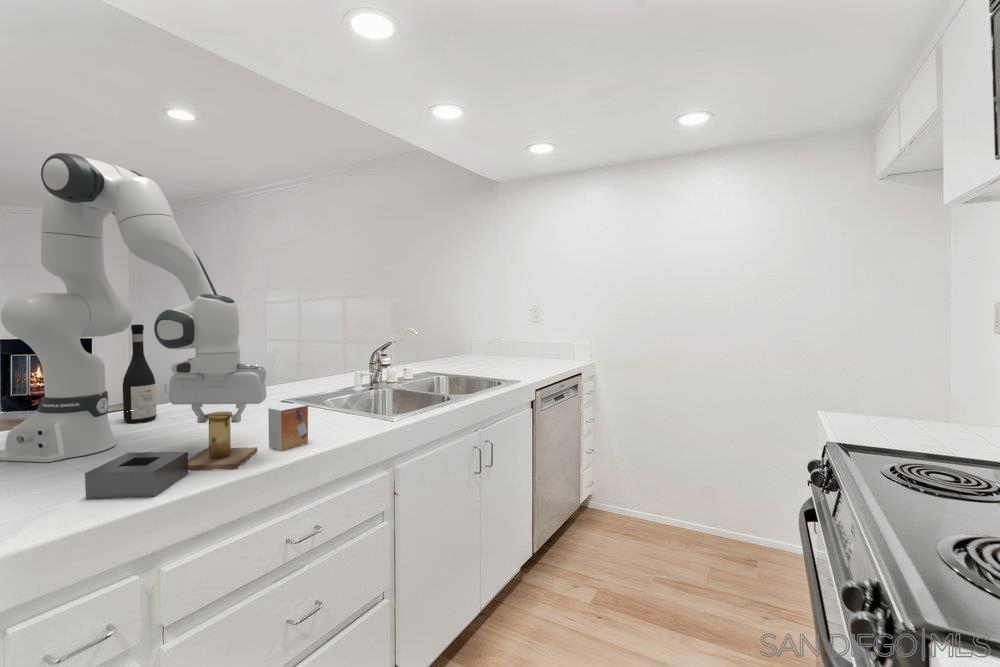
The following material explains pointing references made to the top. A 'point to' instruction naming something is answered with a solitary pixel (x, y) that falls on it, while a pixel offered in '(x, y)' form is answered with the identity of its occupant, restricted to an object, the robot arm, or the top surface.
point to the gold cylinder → (219, 434)
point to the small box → (288, 426)
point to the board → (220, 459)
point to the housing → (136, 475)
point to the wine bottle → (139, 383)
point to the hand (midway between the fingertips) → (219, 422)
